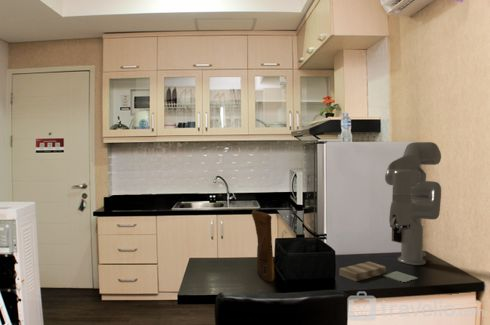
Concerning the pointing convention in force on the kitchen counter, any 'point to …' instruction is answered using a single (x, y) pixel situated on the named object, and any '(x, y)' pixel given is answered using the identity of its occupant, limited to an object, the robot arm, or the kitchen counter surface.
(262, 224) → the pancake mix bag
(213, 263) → the kitchen counter surface
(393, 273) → the sage mat
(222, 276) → the kitchen counter surface
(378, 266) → the tan flat block
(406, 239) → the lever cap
